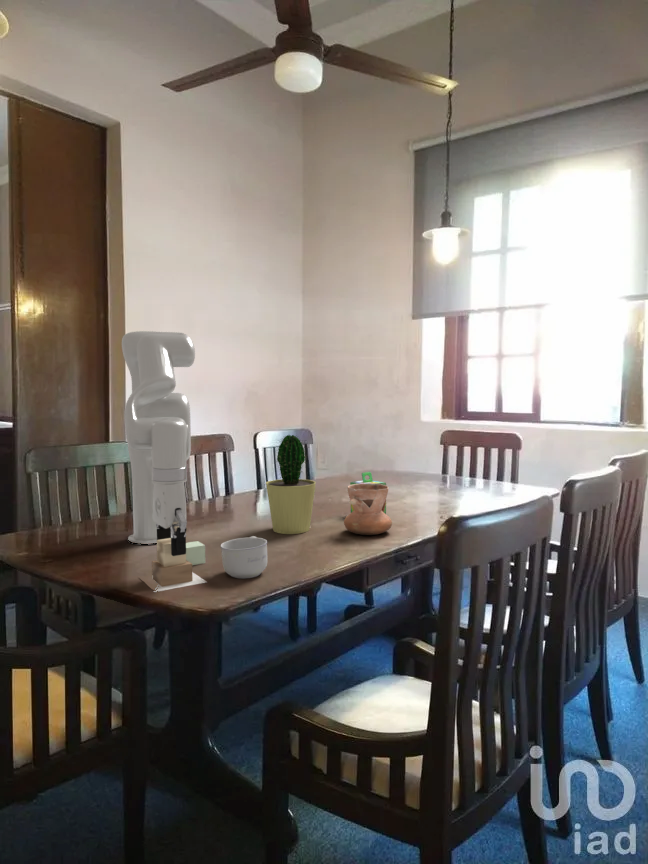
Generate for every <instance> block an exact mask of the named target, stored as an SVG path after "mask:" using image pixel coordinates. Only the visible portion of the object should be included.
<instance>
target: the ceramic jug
mask: <svg viewBox="0 0 648 864" xmlns="http://www.w3.org/2000/svg"><path fill="white" fill-rule="evenodd" d="M347 493H348V497H349V501H348V503H349V504H350V506H351V505H353V507H354V511H353V512H352V513H351V512H350V513H349V514H348V515H347V516H346V517H345V519H344V520H343V524H344V527H345V529H346V530H348V531H349V532H350V533H353V534H356V535H361V536H375V535H380V534H383V533H386V532H387V531H389V530H390V529H391V527H392V526H393V521H392V519H391V517H390V516H389V515H387V513H386V514H385V513H384V509H385V505H386V506H387V497H388V493H389V486H388V485H387V484H386V485H382V484H377V483H375V484H372V483H361V484H352V485H350V484H349V485H348V486H347Z"/></svg>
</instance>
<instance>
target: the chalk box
mask: <svg viewBox="0 0 648 864" xmlns="http://www.w3.org/2000/svg"><path fill="white" fill-rule="evenodd" d="M366 476H368V477H369V478H368V479H367V478H366ZM361 478H362V480H355V481H351V482H350V483H349V485H352V484H361V483H372V484H375V483H377V484H382V485H386V486H387V483H386V482H384V481H379V480H373V476H372V472H371V471H365V472H362V473H361ZM353 511H354V507H353V505H351V504H350V513H352V512H353ZM384 513H385V514H386V515H387V504H386V505H385V509H384Z"/></svg>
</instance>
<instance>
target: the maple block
mask: <svg viewBox="0 0 648 864" xmlns="http://www.w3.org/2000/svg"><path fill="white" fill-rule="evenodd" d="M156 561H157V562H158V563H160V564H161V565H163V566H164V567H167V566H173V565H179V564H185V563H186V554H184V555H178V556H172V555H171V538H167V539H160V540H157V544H156Z"/></svg>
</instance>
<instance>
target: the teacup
mask: <svg viewBox="0 0 648 864" xmlns="http://www.w3.org/2000/svg"><path fill="white" fill-rule="evenodd" d="M267 544H268V540H267V539H265V538H262V537H257V536H256V535H255V536H254V535H252V536H249V537H238V538H233V539H230V540H226V541H224V542H222V543H221V544H220V549H221V559H222V566H223V570H224V572H225V573H226V574H227V575H229V576H230V577H232V578H236V579H251V578H256V577H258V576H260V575H261V574H262V573H263V572H264V570H265V569H266V568H267V566H268V545H267Z"/></svg>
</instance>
